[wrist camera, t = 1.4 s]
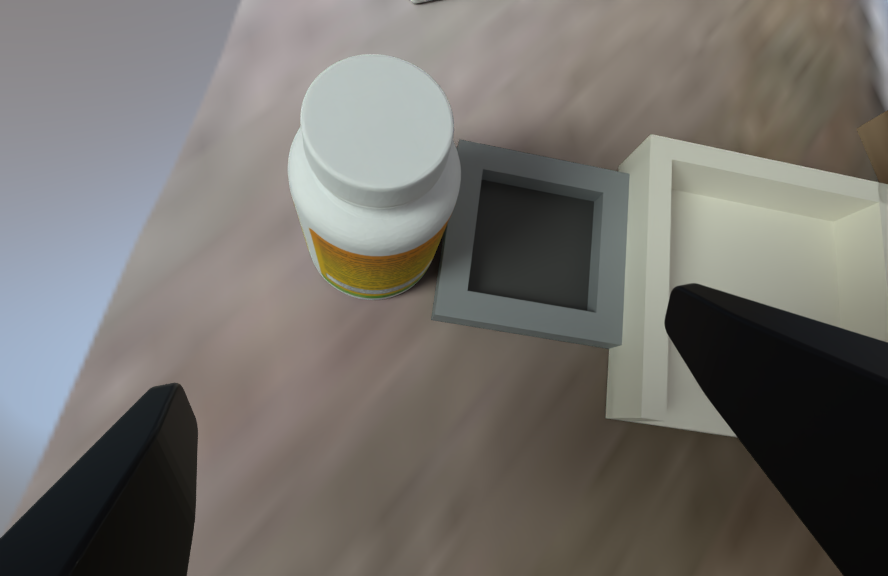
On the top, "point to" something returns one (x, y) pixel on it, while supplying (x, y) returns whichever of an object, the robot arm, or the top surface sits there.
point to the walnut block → (877, 144)
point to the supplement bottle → (374, 174)
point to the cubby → (737, 261)
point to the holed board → (535, 248)
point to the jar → (418, 1)
